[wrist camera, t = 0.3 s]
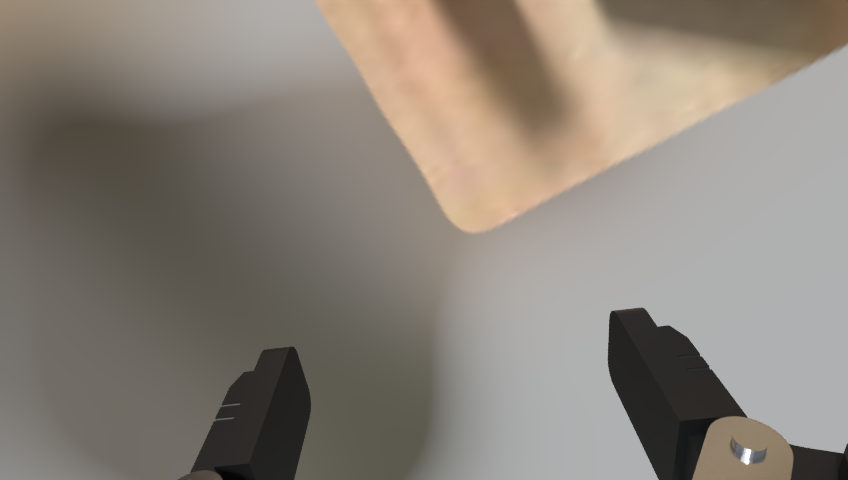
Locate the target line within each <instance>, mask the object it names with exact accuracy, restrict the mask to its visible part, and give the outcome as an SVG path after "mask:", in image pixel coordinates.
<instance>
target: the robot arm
mask: <svg viewBox="0 0 848 480" xmlns="http://www.w3.org/2000/svg"><path fill="white" fill-rule="evenodd" d="M608 367H609V372H610V376H611V380H612V382H613V385H614V387H615V389H616V391H617V393H618V396H619V398H620V400H621V402H622V404H623V406H624V408H625V410H626V412H627V414H628V416H629V418H630V421H631V423H632V425H633V427H634V429H635V431H636V433H637V435H638V437H639V439H640V441H641V443H642V445H643V447H644V450H645V452H646V454H647V456H648V458H649V460H650V462H651V464H652V466H653V468H654V471H655V473H656V475H657V477H658V479H659V480H848V444H847V446H846V449H845V451H844V454H842V453H836V452H829V451H823V450H816V449H810V448H804V447H799V446H794V445H791V444H788V443H787V441H786V440H785V439H784V438H783V437H782V436H781V435H780V434H779V433H778V432H777V431H775V430H774V429H772V428H771V427H769V426H767V425H765V424H763V423H761V422H758V421H756V420H753V419H749V418H747V416H746V415H745V413H744V412H743V411H742V409H741V408H740V407H739V405H738V404H737V403H736V401H735V400H734V399H733V397H732V396H731V395H730V393H729V392H728V391H727V389H726V388H725V387H724V385H723V384H722V383H721V382H720V380H719V379H718V377H717V376H716V375H715V374H714V372H713V371H712V370H710V369H709V365H708V364H707V363H706V361H705V360H704V359H703V358H702V357H700V354H699V352H698V351H697V349H696V348H695V347H694V345H693V344H692V343H691V342H690V340H689V339H688V338H687V337H686V336H684V335H683V334H681V333H680V332H678V331H677V330H675V329H674V328H672V327H671V326H661V327H657V326H656V324H655V323H654V321H653V320H652V318H651V317H650V315H649V314H648V312H647V311H646V310H645V309H644V308H634V309H625V310H616V311H612V312H611V313H610V320H609V343H608ZM310 412H311V399H310V392H309V388H308V385H307V382H306V379H305V376H304V373H303V370H302V366H301V363H300V360H299V357H298V353H297V351H296V349H295V348H294V347H284V348H275V349H267V350H264V351H262V353H261V355H260V357H259V360H258V362H257V365H256V367H255V369H254V371H249V372H244V373H243V374H242V375H241V376H240V377H239V378H238V379H237V380H236V381H235V383H233V384H232V386H231V387H230V388H229V390H228V392H227V394H226V396H225V399H224V401H223V403H222V407H221V408H220V410H219V412H218V414H217V416H216V421H214V422H213V425H212V427H211V429H210V431H209V433H208V435H207V438H206V440H205V442H204V444H203V446H202V449H201V451H200V453H199V455H198V457H197V459H196V461H195V464H194V466H193V468H192V470H191V472H190V473H189V474H187V475H184V476H183V477H181V478H179V479H177V480H294V478H295V473H296V470H297V465H298V462H299V458H300V453H301V450H302V446H303V442H304V438H305V434H306V430H307V425H308V421H309V417H310Z"/></svg>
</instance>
